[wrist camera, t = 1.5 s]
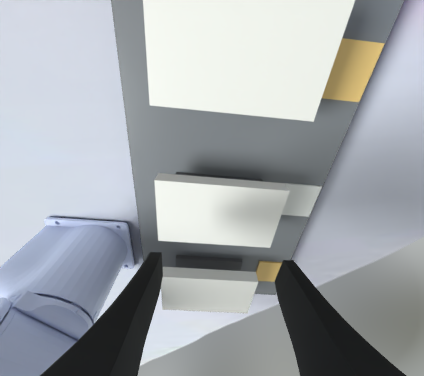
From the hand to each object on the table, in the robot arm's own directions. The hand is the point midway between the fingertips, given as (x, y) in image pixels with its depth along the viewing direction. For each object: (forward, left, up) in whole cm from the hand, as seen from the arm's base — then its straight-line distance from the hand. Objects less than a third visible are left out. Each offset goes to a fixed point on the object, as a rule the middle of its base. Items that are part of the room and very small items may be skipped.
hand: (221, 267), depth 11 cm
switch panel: (+1, 0, -10) cm, 10 cm away
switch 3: (0, -11, -6) cm, 12 cm away
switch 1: (0, +11, -6) cm, 12 cm away
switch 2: (0, 0, -6) cm, 6 cm away
